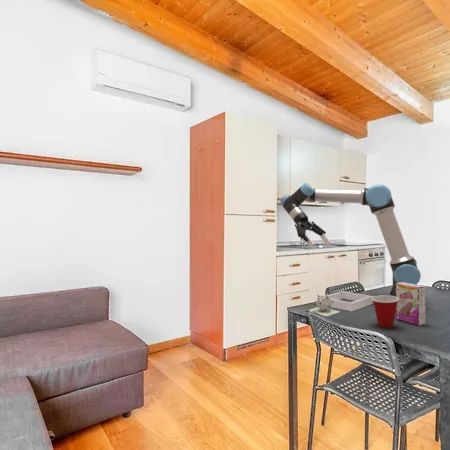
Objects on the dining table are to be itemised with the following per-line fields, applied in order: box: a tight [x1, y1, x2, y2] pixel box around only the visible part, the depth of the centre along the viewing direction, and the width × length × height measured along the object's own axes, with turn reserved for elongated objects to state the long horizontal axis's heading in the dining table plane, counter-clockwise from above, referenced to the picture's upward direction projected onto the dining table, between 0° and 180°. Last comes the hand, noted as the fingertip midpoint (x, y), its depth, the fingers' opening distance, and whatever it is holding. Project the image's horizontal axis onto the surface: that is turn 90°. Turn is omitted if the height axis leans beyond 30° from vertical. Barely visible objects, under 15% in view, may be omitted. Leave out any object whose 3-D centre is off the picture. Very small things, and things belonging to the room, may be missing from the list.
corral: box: [325, 290, 374, 312], centre depth 182 cm, size 18×22×4 cm
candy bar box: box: [395, 282, 427, 327], centre depth 150 cm, size 11×5×16 cm, turn 26°
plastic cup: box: [371, 294, 399, 329], centre depth 146 cm, size 11×11×12 cm
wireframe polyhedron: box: [313, 293, 334, 312], centre depth 168 cm, size 9×8×10 cm
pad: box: [308, 306, 341, 317], centre depth 168 cm, size 12×11×1 cm
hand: (320, 245), depth 182 cm, fingers open, 13 cm apart
